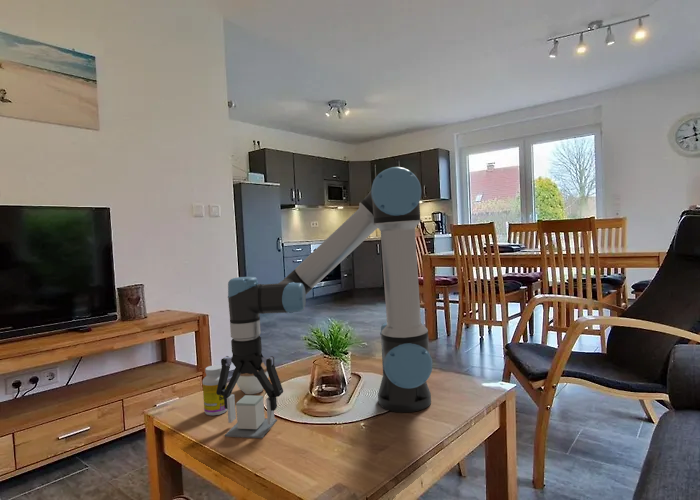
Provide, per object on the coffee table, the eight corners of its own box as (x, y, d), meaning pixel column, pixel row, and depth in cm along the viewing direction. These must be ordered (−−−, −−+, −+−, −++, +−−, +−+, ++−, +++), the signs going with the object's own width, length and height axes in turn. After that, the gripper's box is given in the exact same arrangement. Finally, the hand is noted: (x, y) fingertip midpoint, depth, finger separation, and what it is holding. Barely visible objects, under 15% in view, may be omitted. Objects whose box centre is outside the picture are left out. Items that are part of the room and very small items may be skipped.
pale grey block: (264, 420, 114) (263, 395, 114) (256, 429, 109) (255, 403, 109) (246, 419, 115) (245, 395, 115) (237, 428, 110) (236, 403, 110)
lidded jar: (276, 389, 139) (275, 360, 139) (249, 400, 131) (247, 369, 131) (256, 382, 146) (255, 355, 146) (229, 392, 138) (227, 363, 138)
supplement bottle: (221, 416, 120) (218, 371, 119) (200, 416, 121) (196, 371, 121) (232, 407, 127) (229, 364, 126) (212, 406, 128) (209, 363, 127)
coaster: (277, 420, 116) (277, 418, 116) (262, 438, 106) (262, 436, 106) (242, 418, 118) (242, 417, 118) (225, 436, 108) (224, 434, 108)
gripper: (292, 333, 112) (297, 416, 113) (213, 333, 117) (218, 413, 118) (282, 341, 105) (288, 430, 106) (198, 340, 110) (204, 426, 111)
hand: (251, 421), depth 112 cm, fingers open, 10 cm apart
